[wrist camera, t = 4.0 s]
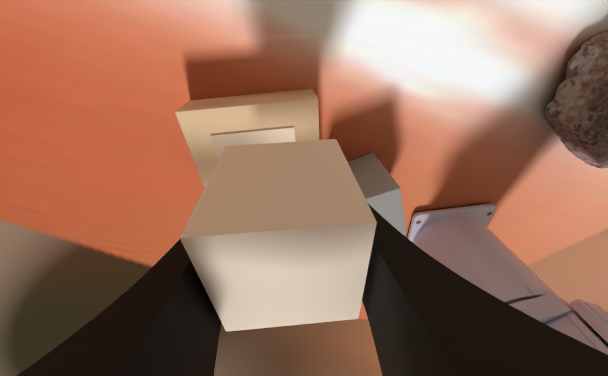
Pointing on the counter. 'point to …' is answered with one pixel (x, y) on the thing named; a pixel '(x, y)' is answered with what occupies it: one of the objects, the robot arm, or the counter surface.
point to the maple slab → (246, 123)
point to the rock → (584, 103)
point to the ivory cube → (282, 235)
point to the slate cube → (379, 189)
